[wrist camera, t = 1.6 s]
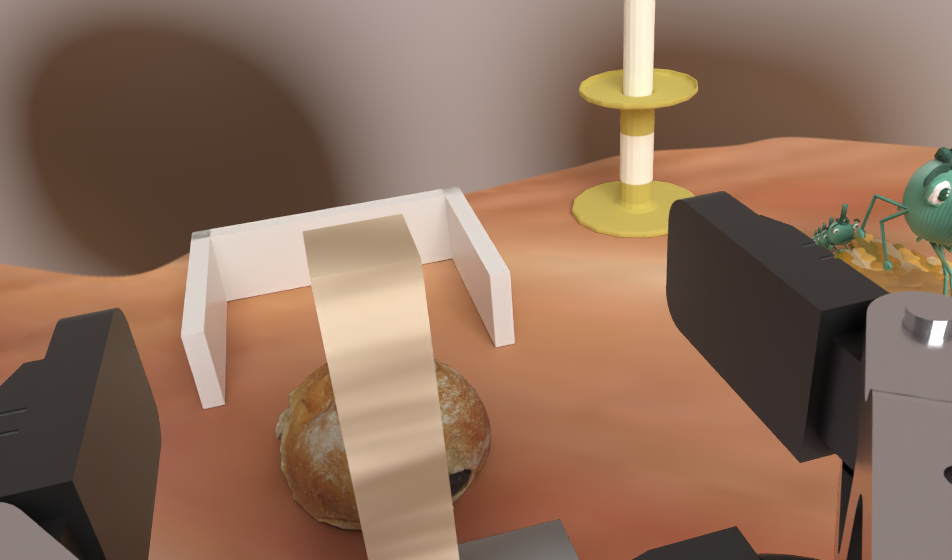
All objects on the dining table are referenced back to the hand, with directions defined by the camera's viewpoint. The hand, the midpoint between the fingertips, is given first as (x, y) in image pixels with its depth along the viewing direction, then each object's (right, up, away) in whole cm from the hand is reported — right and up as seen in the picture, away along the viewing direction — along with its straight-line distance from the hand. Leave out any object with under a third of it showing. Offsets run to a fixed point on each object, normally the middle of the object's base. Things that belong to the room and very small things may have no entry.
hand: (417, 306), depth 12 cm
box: (-7, -2, +42) cm, 42 cm away
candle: (+13, +6, +53) cm, 55 cm away
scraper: (-1, -14, +20) cm, 25 cm away
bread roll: (-4, -9, +30) cm, 32 cm away
